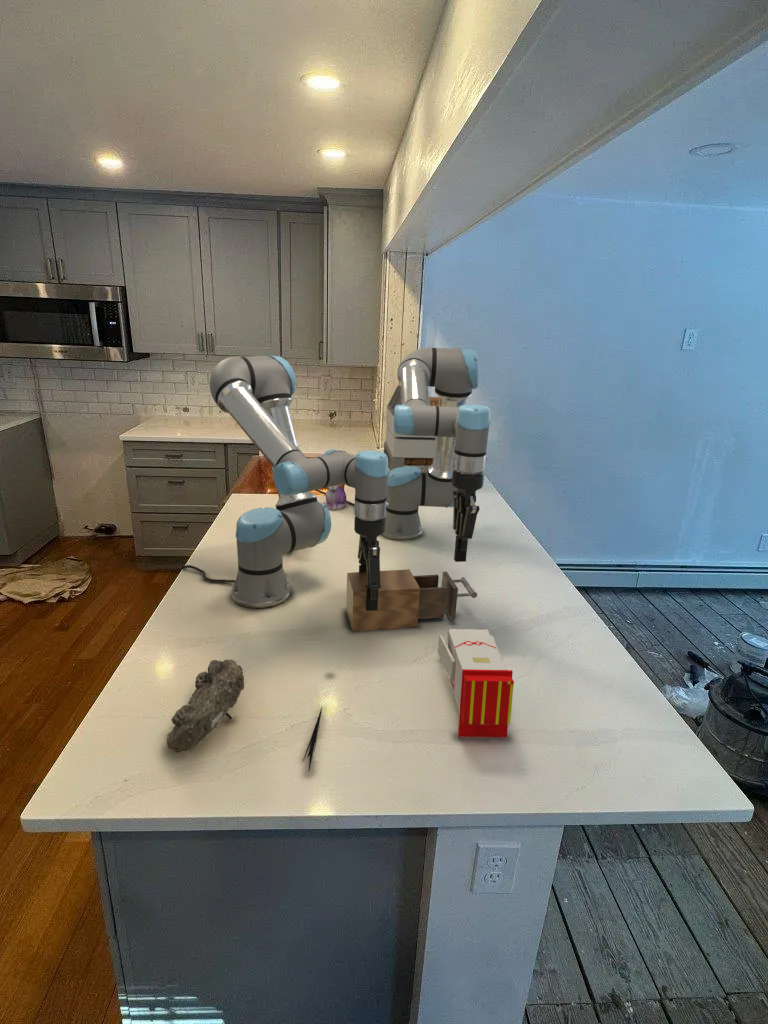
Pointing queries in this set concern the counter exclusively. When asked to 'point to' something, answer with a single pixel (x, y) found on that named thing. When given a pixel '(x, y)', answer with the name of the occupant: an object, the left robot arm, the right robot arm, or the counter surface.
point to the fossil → (206, 705)
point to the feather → (313, 740)
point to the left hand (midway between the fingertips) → (367, 598)
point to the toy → (478, 682)
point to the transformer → (406, 440)
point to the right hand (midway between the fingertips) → (459, 560)
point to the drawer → (440, 595)
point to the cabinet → (383, 601)
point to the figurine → (335, 497)
